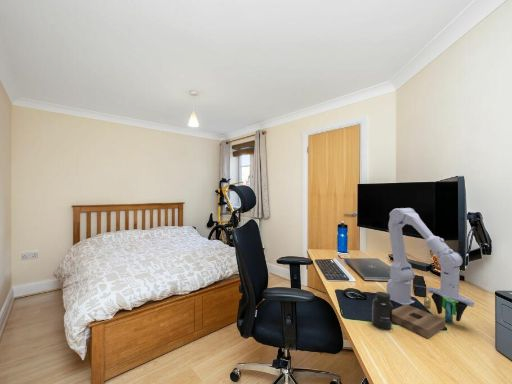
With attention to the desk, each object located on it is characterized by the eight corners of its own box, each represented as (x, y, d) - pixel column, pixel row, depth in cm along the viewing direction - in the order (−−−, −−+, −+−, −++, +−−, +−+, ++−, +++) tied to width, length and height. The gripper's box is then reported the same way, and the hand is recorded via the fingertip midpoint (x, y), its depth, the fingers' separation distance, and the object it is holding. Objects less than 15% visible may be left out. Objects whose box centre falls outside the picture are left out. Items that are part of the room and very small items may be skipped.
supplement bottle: (384, 332, 85) (385, 299, 85) (368, 322, 91) (368, 292, 91) (396, 327, 89) (396, 296, 88) (379, 318, 95) (379, 289, 95)
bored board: (387, 319, 94) (388, 312, 94) (406, 310, 101) (406, 303, 101) (427, 338, 82) (427, 330, 82) (445, 327, 89) (445, 319, 89)
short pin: (422, 306, 105) (423, 297, 105) (425, 305, 106) (425, 296, 106) (429, 309, 103) (429, 300, 103) (431, 307, 104) (431, 298, 104)
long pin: (443, 321, 94) (444, 301, 93) (446, 319, 95) (446, 299, 95) (451, 324, 91) (451, 303, 91) (453, 322, 93) (454, 302, 93)
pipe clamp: (462, 316, 98) (462, 305, 98) (453, 315, 99) (453, 304, 99) (444, 303, 109) (444, 293, 109) (435, 302, 110) (436, 292, 110)
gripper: (424, 278, 97) (423, 311, 97) (469, 291, 85) (468, 329, 85) (432, 275, 101) (431, 306, 101) (476, 288, 88) (475, 323, 88)
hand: (448, 316), depth 93 cm, fingers open, 5 cm apart
